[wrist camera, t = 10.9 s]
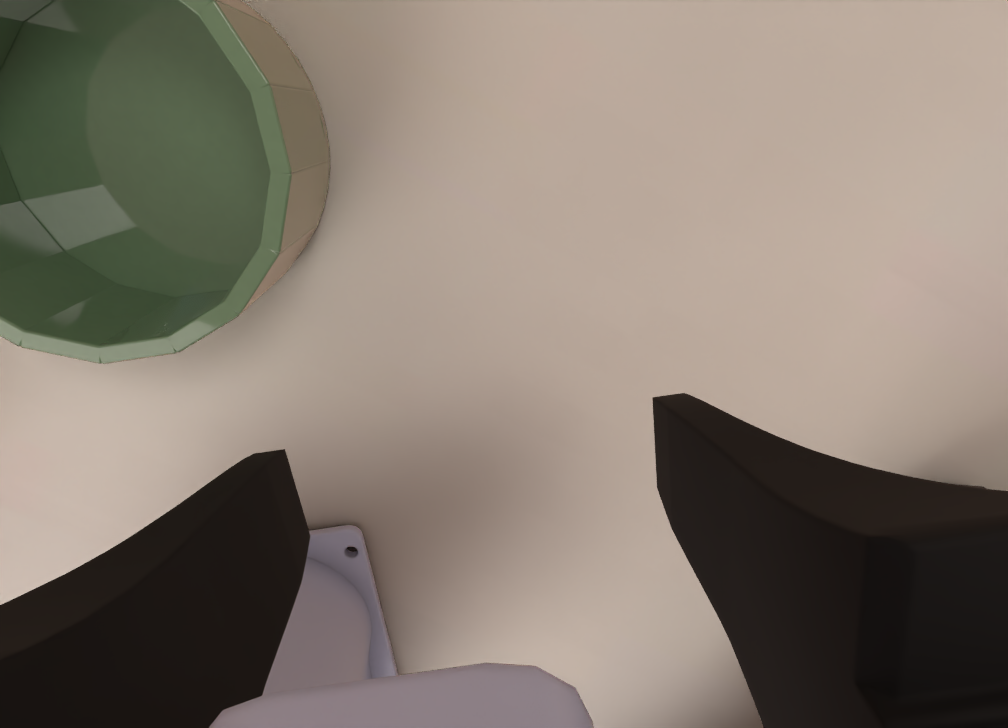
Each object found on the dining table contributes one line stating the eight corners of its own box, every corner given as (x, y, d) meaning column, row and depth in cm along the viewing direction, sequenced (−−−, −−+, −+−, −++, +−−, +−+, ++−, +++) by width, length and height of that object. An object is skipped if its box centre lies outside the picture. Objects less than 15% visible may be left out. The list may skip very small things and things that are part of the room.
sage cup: (360, 281, 22) (329, 331, 17) (66, 323, 22) (-53, 387, 17) (285, -60, 18) (219, -126, 13) (-65, -11, 18) (-267, -59, 13)
